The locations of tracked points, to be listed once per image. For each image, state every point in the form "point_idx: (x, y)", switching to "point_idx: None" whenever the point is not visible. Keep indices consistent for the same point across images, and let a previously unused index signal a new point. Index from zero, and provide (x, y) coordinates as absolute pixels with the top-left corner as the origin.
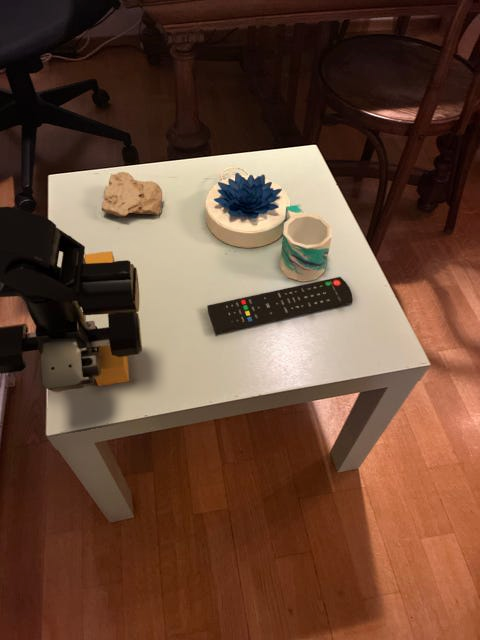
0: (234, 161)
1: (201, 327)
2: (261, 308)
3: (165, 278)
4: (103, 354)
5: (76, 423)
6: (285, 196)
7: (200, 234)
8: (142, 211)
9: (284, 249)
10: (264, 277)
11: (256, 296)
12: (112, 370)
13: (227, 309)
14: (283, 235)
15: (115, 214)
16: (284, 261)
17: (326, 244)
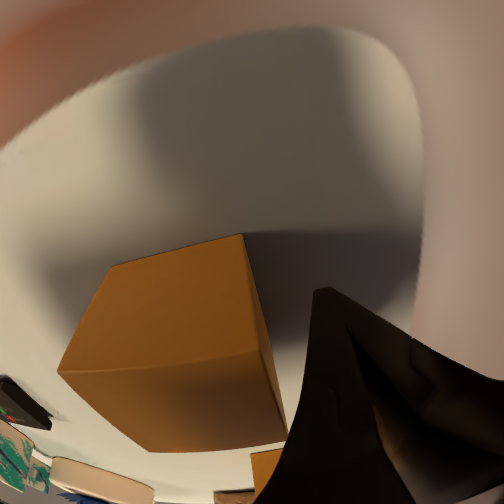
0: (154, 500)
1: (39, 394)
2: None
3: (162, 461)
4: (207, 425)
5: (311, 37)
6: (67, 490)
7: (145, 480)
8: (236, 501)
9: (11, 464)
10: (28, 431)
11: (5, 419)
12: (120, 345)
13: (18, 416)
14: (12, 484)
15: None
16: (12, 446)
17: None
